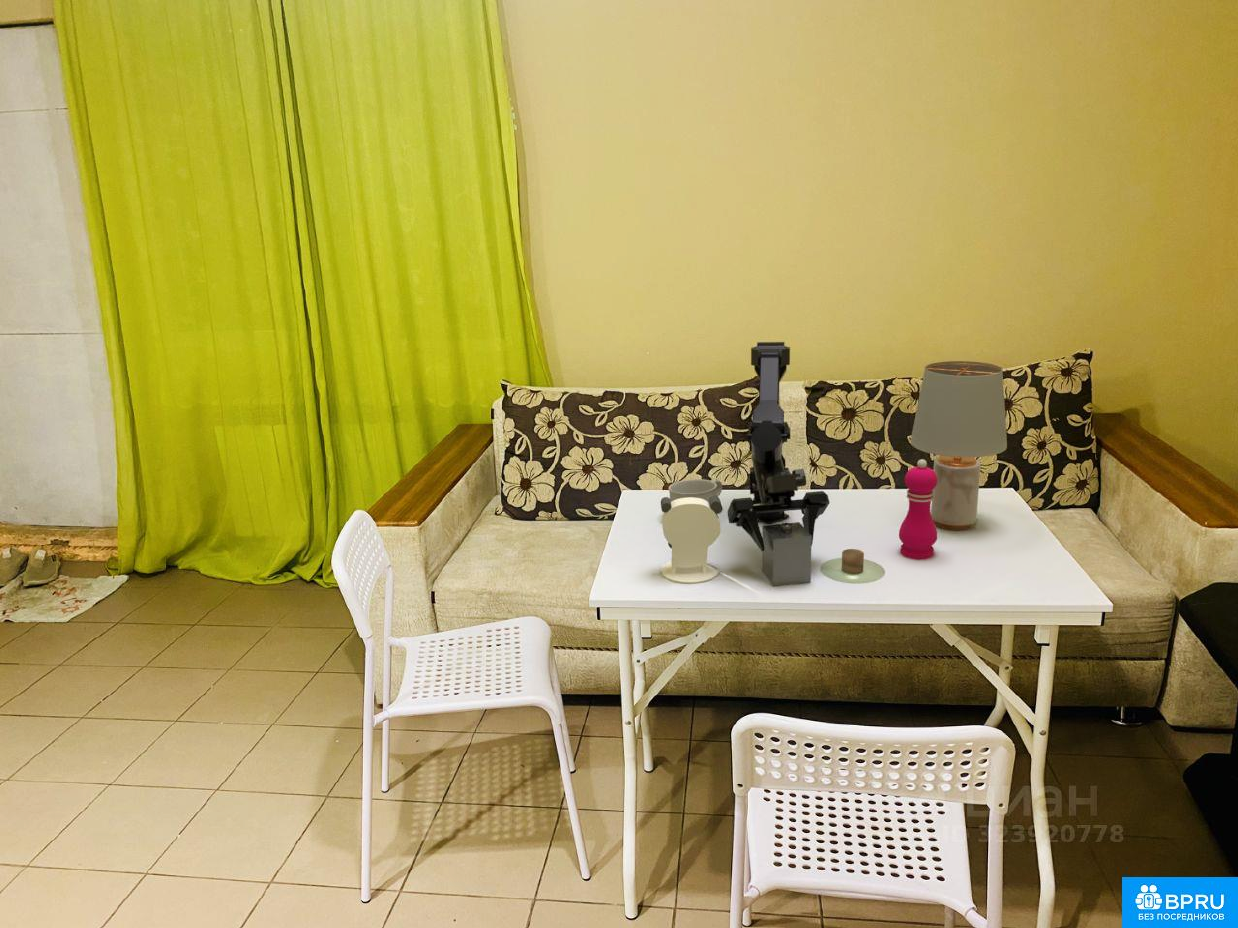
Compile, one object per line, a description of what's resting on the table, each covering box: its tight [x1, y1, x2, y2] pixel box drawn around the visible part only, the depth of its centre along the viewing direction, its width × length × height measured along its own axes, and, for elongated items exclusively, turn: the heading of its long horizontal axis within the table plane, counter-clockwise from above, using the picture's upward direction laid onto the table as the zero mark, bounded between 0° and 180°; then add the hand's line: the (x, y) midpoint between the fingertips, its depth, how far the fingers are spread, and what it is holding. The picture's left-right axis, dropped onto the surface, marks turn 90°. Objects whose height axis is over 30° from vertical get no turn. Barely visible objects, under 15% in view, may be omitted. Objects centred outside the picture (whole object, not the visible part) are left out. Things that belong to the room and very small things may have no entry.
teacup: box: [668, 478, 723, 502], centre depth 209 cm, size 14×11×8 cm
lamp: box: [910, 360, 1008, 531], centre depth 194 cm, size 19×19×34 cm
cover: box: [761, 521, 812, 588], centre depth 174 cm, size 7×7×11 cm
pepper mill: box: [898, 459, 938, 560], centre depth 181 cm, size 7×7×20 cm
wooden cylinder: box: [841, 548, 865, 574], centre depth 177 cm, size 4×4×4 cm
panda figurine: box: [660, 495, 723, 585], centre depth 179 cm, size 12×11×15 cm
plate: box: [819, 557, 886, 585], centre depth 178 cm, size 12×12×1 cm
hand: (787, 548), depth 174 cm, fingers open, 9 cm apart
